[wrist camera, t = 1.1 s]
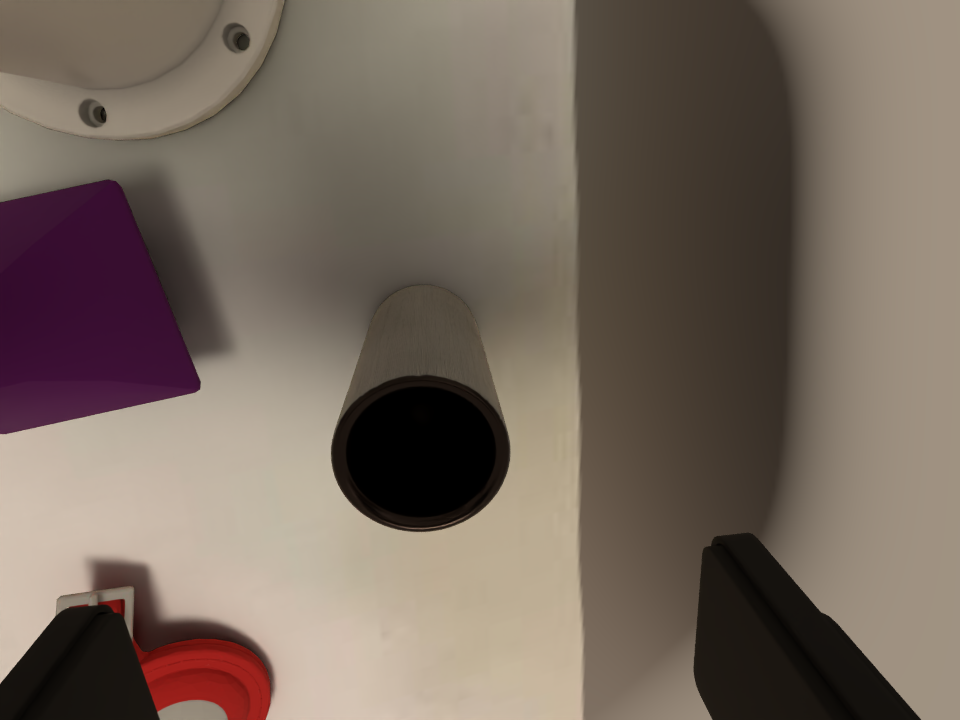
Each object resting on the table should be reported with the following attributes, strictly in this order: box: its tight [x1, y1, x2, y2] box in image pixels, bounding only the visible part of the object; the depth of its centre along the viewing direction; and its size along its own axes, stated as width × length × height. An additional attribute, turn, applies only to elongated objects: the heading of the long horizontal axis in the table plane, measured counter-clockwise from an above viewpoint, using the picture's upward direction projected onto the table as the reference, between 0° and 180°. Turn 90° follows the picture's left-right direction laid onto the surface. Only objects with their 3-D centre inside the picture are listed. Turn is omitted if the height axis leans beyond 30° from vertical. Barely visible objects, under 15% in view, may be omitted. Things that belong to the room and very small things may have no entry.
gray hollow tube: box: [331, 285, 510, 532], centre depth 19 cm, size 4×4×10 cm
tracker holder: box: [56, 586, 270, 720], centre depth 27 cm, size 12×4×10 cm
